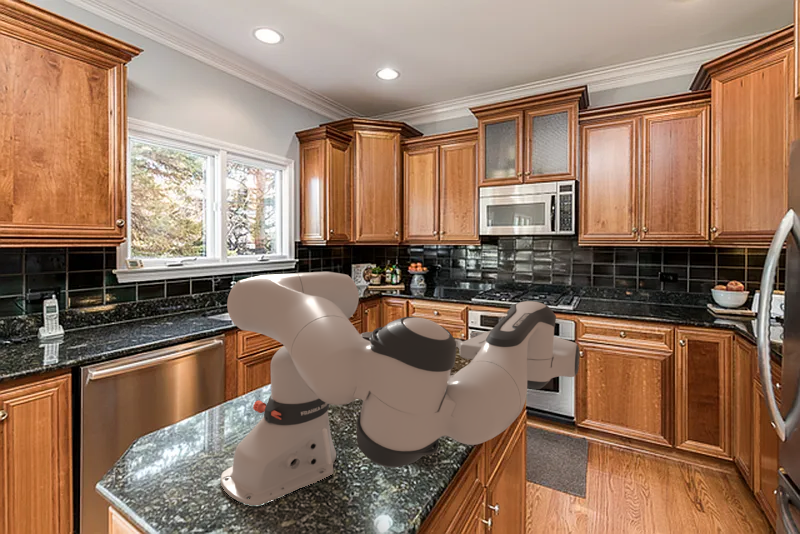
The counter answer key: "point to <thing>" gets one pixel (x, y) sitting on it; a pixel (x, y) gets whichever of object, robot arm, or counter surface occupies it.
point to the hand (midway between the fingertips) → (462, 338)
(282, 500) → the counter surface
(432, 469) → the counter surface
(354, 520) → the counter surface
